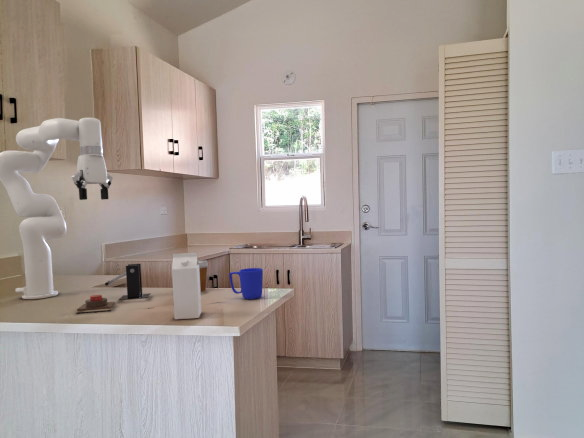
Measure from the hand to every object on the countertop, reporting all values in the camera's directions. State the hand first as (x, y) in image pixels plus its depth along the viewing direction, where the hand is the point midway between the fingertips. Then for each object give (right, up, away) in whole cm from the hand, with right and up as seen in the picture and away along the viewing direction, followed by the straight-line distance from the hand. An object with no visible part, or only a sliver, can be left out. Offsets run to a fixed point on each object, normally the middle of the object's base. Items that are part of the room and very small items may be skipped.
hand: (94, 199), depth 171 cm
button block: (+7, -38, -16) cm, 41 cm away
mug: (+57, -35, -7) cm, 67 cm away
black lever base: (+15, -37, 0) cm, 40 cm away
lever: (+11, -29, -1) cm, 31 cm away
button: (+7, -34, -16) cm, 38 cm away
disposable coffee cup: (+36, -36, +7) cm, 51 cm away
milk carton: (+41, -37, -30) cm, 63 cm away
